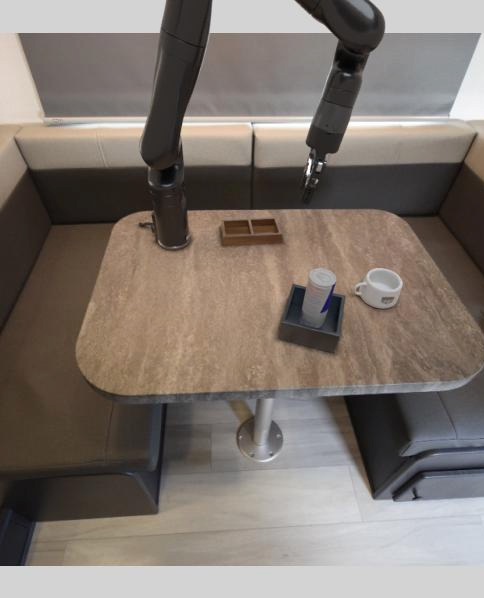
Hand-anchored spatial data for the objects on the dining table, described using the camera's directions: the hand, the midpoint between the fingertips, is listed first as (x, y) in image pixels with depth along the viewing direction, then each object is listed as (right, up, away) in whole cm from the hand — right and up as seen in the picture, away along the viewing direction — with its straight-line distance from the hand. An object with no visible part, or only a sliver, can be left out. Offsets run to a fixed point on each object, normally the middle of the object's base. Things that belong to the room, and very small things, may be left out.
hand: (303, 196), depth 85 cm
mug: (+19, -24, +5) cm, 31 cm away
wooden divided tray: (-12, -5, +23) cm, 26 cm away
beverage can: (+1, -31, -2) cm, 31 cm away
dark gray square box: (+1, -31, -2) cm, 31 cm away
